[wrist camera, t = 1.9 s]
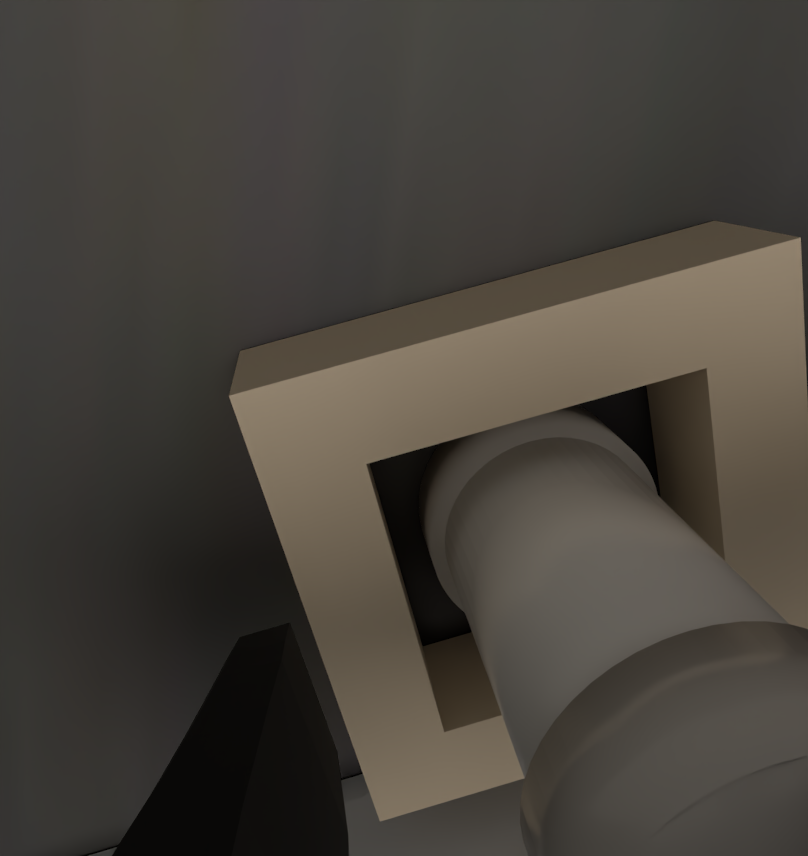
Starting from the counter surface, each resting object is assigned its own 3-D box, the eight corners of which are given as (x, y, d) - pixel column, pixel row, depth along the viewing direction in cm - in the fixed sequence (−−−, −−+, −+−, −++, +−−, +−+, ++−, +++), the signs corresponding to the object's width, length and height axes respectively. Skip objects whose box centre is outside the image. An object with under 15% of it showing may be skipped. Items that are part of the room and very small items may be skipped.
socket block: (714, 220, 11) (800, 237, 9) (748, 614, 14) (819, 689, 12) (240, 351, 11) (229, 395, 9) (367, 726, 13) (379, 822, 11)
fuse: (610, 369, 12) (1017, 667, 5) (638, 557, 13) (992, 987, 6) (395, 431, 11) (527, 815, 5) (444, 613, 13) (600, 1109, 6)
